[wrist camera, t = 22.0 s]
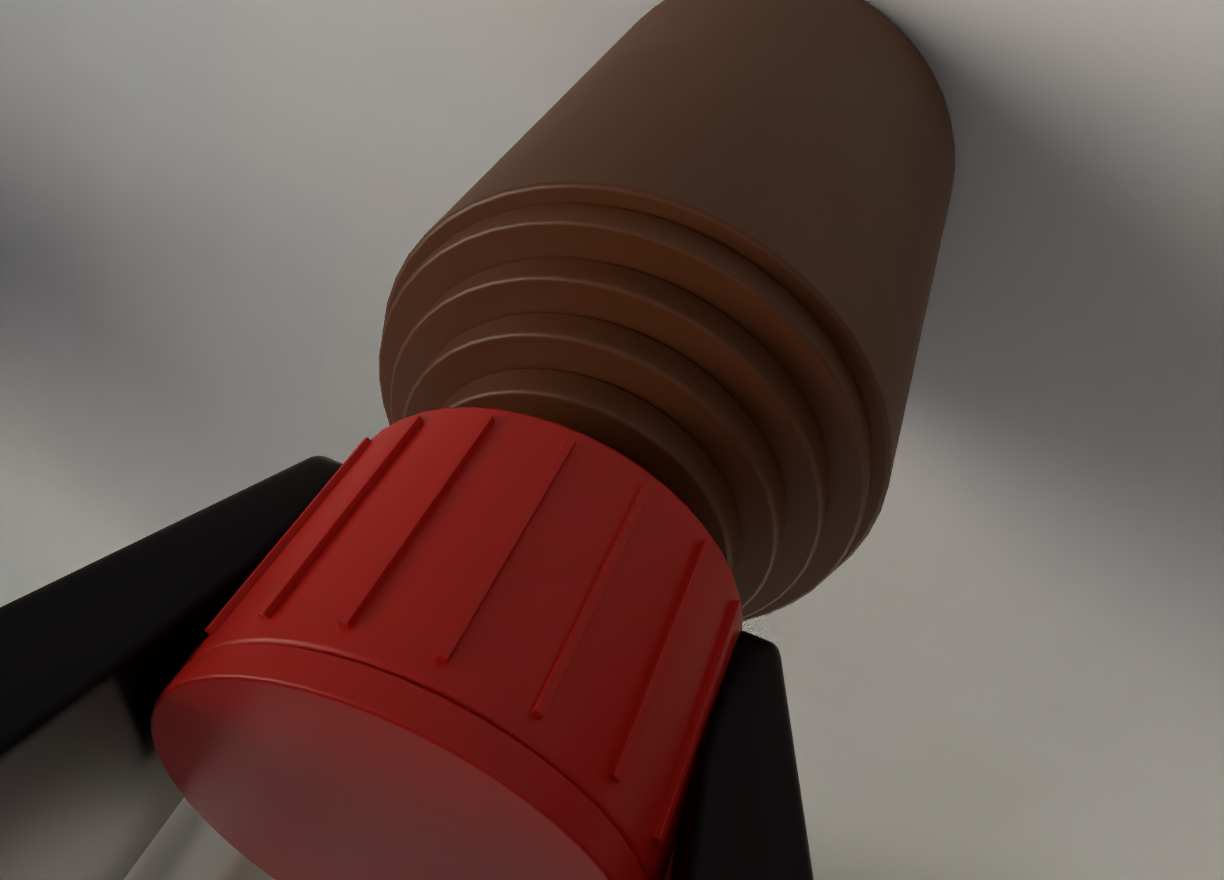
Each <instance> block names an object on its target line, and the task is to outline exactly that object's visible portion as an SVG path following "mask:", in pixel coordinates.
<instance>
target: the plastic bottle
mask: <svg viewBox="0 0 1224 880" xmlns="http://www.w3.org/2000/svg"><path fill="white" fill-rule="evenodd" d="M124 880H275V879H274V878H272V877H271V876H269V875H268V874H266V873H265V872H264V871H263V870H261V869H260V868H259V867H257V866H256V865H255V864H254V863H252V862H251V861H250V860H248V859H247V858H246V857H245V856H243V855H242V854H241V853H240V852H239V851H238V850H236V849H235V848H234V847H233V846H232V845H231V844H229V843H228V842H227V841H226V840H225V839H224V838H223V837H222V836H221V835H220V834H219V833H218V832H216V831H215V830H214V829H213V828H212V827H211V826H210V825H209V824H208V823H207V822H206V821H205V820H204V819H203V818H202V816H201V815H200V814H199V813H198V812H197V811H196V810H195V809H194V808H193V807H192V806H191V804H190V803H189V802H188V801H187V799H186V798H185V797H184V798H183V800H182V801H181V802H180V804H179V805H178V806H177V808H176V809H175V810H174V812H173V813H172V815H171V816H170V817H169V819H168V820H167V821H166V823H165V824H164V825H163V827H162V828H161V829H160V831H159V832H158V834H157V835H156V836H155V838H154V839H153V840H152V842H151V843H150V844H149V846H148V847H147V848H146V850H145V851H144V853H143V854H142V855H141V857H140V858H139V859H138V861H137V862H136V863H135V865H134V866H133V867H132V869H131V870H130V872H129V873H128V874H127V876H126V877H125V878H124Z"/></svg>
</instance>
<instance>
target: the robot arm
mask: <svg viewBox="0 0 1224 880" xmlns="http://www.w3.org/2000/svg"><path fill="white" fill-rule="evenodd" d="M342 465H343V464H342V463H339V462H337V461H335V460H332V459H330V458H327V457H324V456H314V457H311V458H308V459H306V460H304V461H302V462H300V463H298V464H296V465H294V466H292V467H290V468H287V469H285V470H283V471H281V472H279V473H277V474H275V475H273V476H271V477H269V478H267V479H265V480H263V481H261V482H259V483H257V484H254V485H252V486H250V487H248V488H246V489H244V490H242V491H240V492H238V493H236V494H234V495H232V496H230V497H228V498H226V499H223V500H221V501H219V502H217V503H215V504H213V505H211V506H209V507H207V508H205V509H203V510H201V511H199V512H197V513H195V514H192V515H190V516H188V517H186V518H184V519H182V520H180V521H178V522H176V523H174V524H172V525H170V526H168V527H166V528H164V529H162V530H159V531H157V532H155V533H153V534H151V535H149V536H147V537H145V538H143V539H141V540H139V541H137V542H135V543H133V544H131V545H128V546H126V547H124V548H122V549H120V550H118V551H116V552H114V553H112V554H110V555H108V556H106V557H104V558H102V559H100V560H97V561H95V562H93V563H91V564H89V565H87V566H85V567H83V568H81V569H79V570H77V571H75V572H73V573H71V574H69V575H67V576H64V577H62V578H60V579H58V580H56V581H54V582H52V583H50V584H48V585H46V586H44V587H42V588H40V589H38V590H36V591H33V592H31V593H29V594H27V595H25V596H23V597H21V598H19V599H17V600H15V601H13V602H11V603H9V604H7V605H5V606H2V607H0V880H124V878H125V877H126V876H127V874H128V873H129V872H130V870H131V869H132V867H133V866H134V865H135V863H136V862H137V861H138V859H139V858H140V857H141V855H142V854H143V853H144V851H145V850H146V848H147V847H148V846H149V844H150V843H151V842H152V840H153V839H154V838H155V836H156V835H157V834H158V832H159V831H160V829H161V828H162V827H163V825H164V824H165V823H166V821H167V820H168V819H169V817H170V816H171V815H172V813H173V812H174V810H175V809H176V808H177V806H178V805H179V804H180V802H181V801H182V800H183V798H184V796H183V794H182V793H181V792H180V791H179V789H178V788H177V787H176V785H175V784H174V782H173V781H172V779H171V778H170V776H169V775H168V773H167V771H166V770H165V768H164V767H163V764H162V762H161V760H160V758H159V756H158V754H157V752H156V749H155V746H154V742H153V738H152V735H151V716H152V712H153V708H154V705H155V702H156V701H157V699H158V698H159V696H160V695H161V693H162V692H163V691H164V689H165V688H166V687H167V686H168V684H169V683H170V682H171V681H172V680H173V678H174V677H175V676H176V675H177V674H178V672H179V671H180V670H181V669H182V667H183V666H184V665H185V661H186V660H187V658H188V657H189V656H190V655H191V654H192V652H193V651H194V650H195V649H196V648H197V647H198V646H199V645H200V644H201V643H202V642H203V641H204V640H206V638H207V637H208V636H209V634H208V633H207V632H205V629H206V628H207V626H208V625H209V624H210V623H211V622H212V620H213V619H214V618H215V617H216V616H217V614H218V613H219V612H220V611H221V610H222V608H223V607H224V606H225V605H226V604H227V602H228V601H229V600H230V599H231V598H232V596H233V595H234V594H235V593H236V592H237V590H238V589H239V588H240V587H241V586H242V584H243V583H244V582H245V581H246V580H247V578H248V577H249V576H250V575H251V574H252V572H253V571H254V570H255V569H256V568H257V566H258V565H259V564H260V563H261V562H262V560H263V559H264V558H265V557H266V556H267V554H268V553H269V552H270V551H271V550H272V548H273V547H274V546H275V545H276V544H277V543H278V541H279V540H280V539H281V538H282V537H283V535H284V534H285V533H286V532H287V531H288V529H289V528H290V527H291V526H292V525H293V523H294V522H295V521H296V520H297V519H298V517H299V516H300V515H301V514H302V513H303V511H304V510H305V509H306V508H307V507H308V505H309V504H310V503H311V502H312V501H313V499H314V498H315V497H316V496H317V495H318V493H319V492H320V491H321V490H322V489H323V487H324V486H325V485H326V484H327V483H328V481H329V480H330V479H331V478H332V477H333V475H334V474H335V473H336V472H337V471H338V469H339V468H340V467H341V466H342ZM669 880H814V879H813V872H812V866H811V859H810V852H809V845H808V839H807V832H806V825H805V818H804V811H803V805H802V798H801V791H800V784H799V778H798V771H797V764H796V757H795V751H794V744H793V737H792V730H791V723H790V717H789V710H788V703H787V696H786V690H785V683H784V676H783V669H782V663H781V656H780V653H779V650H778V648H777V646H776V645H775V644H773V643H772V642H769V641H767V640H764V639H762V638H760V637H757V636H755V635H752V634H750V633H748V632H745V631H741V632H740V634H739V636H738V638H737V641H736V644H735V647H734V649H733V652H732V655H731V658H730V660H729V663H728V666H727V669H726V671H725V674H724V677H723V680H722V682H721V685H720V688H719V691H718V694H717V696H716V699H715V702H714V705H713V708H712V711H711V714H710V717H709V720H708V724H707V727H706V730H705V733H704V736H703V739H702V743H701V746H700V750H699V753H698V757H697V761H696V764H695V768H694V772H693V776H692V780H691V784H690V788H689V792H688V796H687V800H686V804H685V808H684V812H683V816H682V821H681V825H680V829H679V833H678V837H677V840H676V843H675V849H674V855H673V861H672V867H671V873H670V879H669Z"/></svg>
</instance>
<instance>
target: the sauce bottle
mask: <svg viewBox="0 0 1224 880" xmlns="http://www.w3.org/2000/svg"><path fill="white" fill-rule="evenodd" d="M953 177H954V139H953V133H952V126H951V120H950V116H949V113H948V110H947V106H946V103H945V100H944V96H943V94H942V92H941V90H940V88H939V85H938V83H937V81H936V79H935V77H934V75H933V73H932V71H931V69H930V68H929V66H928V65H927V63H926V62H925V60H924V59H923V57H922V56H921V54H920V52H919V51H918V49H917V48H916V47H915V46H914V45H913V44H912V43H911V41H910V40H909V39H908V38H907V37H906V36H905V35H904V33H903V32H902V31H901V30H900V29H899V28H898V27H897V26H896V25H894V24H893V23H892V22H891V21H890V20H889V19H887V18H886V17H885V16H884V15H883V14H882V13H880V12H879V11H878V10H876V9H875V8H873V7H872V6H870V5H869V4H867V3H865V2H864V1H862V0H665V1H663V2H662V3H660V4H659V5H657V6H655V7H654V8H653V9H652V10H651V11H649V12H648V13H647V14H646V15H645V16H644V17H643V18H641V19H640V20H639V21H638V22H637V23H636V24H635V25H634V26H633V27H632V28H631V29H630V30H629V31H628V32H627V33H626V34H625V35H624V36H623V37H622V38H621V39H620V40H619V41H618V42H617V43H616V44H615V45H614V46H613V47H612V48H611V49H610V50H609V51H608V52H607V53H606V54H605V55H604V56H603V57H602V58H601V59H600V60H599V61H598V62H597V63H596V64H595V65H594V66H593V67H592V68H591V69H590V70H589V71H588V72H587V73H586V74H585V75H584V76H583V77H582V78H581V79H580V80H579V81H578V82H577V83H576V84H575V85H574V86H573V87H572V88H571V89H570V90H569V91H568V92H567V93H566V94H565V95H564V96H563V97H562V98H561V99H560V100H559V101H558V102H557V103H556V104H555V105H554V106H553V107H552V108H551V109H550V110H549V111H548V112H547V113H546V114H545V115H544V116H543V117H542V118H541V119H540V120H539V121H538V122H537V123H536V124H535V125H534V126H533V127H532V128H531V129H530V130H529V131H528V132H527V133H526V134H525V135H524V136H523V137H522V138H521V139H520V140H519V141H518V142H517V143H516V144H515V145H514V146H513V147H512V148H511V149H510V150H509V151H508V152H507V153H506V154H505V155H504V156H503V157H502V158H501V159H500V160H499V161H498V162H497V163H496V164H495V165H494V166H493V167H492V168H491V169H490V170H489V171H488V172H487V173H486V174H485V175H484V176H483V177H482V178H481V179H480V180H479V181H478V182H477V183H476V184H475V185H474V186H473V187H472V188H471V189H470V190H469V191H468V192H467V193H466V194H465V195H464V196H463V197H462V198H461V199H460V200H459V201H458V202H457V203H456V204H455V205H454V206H453V207H452V208H451V209H450V210H449V211H448V212H447V213H446V214H445V215H444V216H443V217H442V218H441V219H440V220H439V221H438V222H437V223H436V224H435V225H434V226H433V227H432V228H431V229H430V230H429V231H428V232H427V233H426V234H425V235H424V237H423V238H422V239H421V240H420V241H419V243H418V244H417V245H416V246H415V248H414V249H413V250H412V251H411V252H410V254H409V255H408V257H407V258H406V260H405V262H404V264H403V266H402V267H401V269H400V271H399V273H398V275H397V276H396V279H395V282H394V285H393V287H392V290H391V293H390V296H389V299H388V302H387V308H386V315H385V321H384V328H383V335H382V341H381V348H380V354H379V374H380V385H381V392H382V398H383V404H384V408H385V411H386V414H387V418H388V421H389V424H390V425H392V424H394V423H396V422H397V421H399V420H402V419H404V418H407V417H410V416H413V415H416V414H419V413H422V412H425V411H431V410H436V409H442V408H450V407H483V408H495V409H503V410H508V411H513V412H518V413H523V414H529V415H532V416H535V417H539V418H542V419H545V420H548V421H552V422H555V423H558V424H561V425H563V426H566V427H568V428H571V429H573V430H575V431H578V432H580V433H583V434H585V435H588V436H589V437H591V438H593V439H595V440H597V441H599V442H601V443H603V444H605V445H607V446H609V447H611V448H612V449H614V450H616V451H618V452H619V453H621V454H622V455H624V456H626V457H627V458H629V459H630V460H632V461H633V462H635V463H636V464H638V465H639V466H641V467H643V468H644V469H645V470H646V471H648V472H649V473H650V474H652V475H653V476H654V477H655V478H657V479H658V480H659V481H660V482H662V483H663V484H664V485H666V486H667V487H668V488H669V489H670V490H671V491H672V492H673V493H674V494H675V495H676V496H677V497H678V498H679V499H680V500H681V501H683V502H684V503H685V504H686V505H687V506H688V507H689V508H690V509H691V511H692V512H693V513H694V514H695V515H696V517H697V518H698V519H699V520H700V521H701V523H702V524H703V525H704V526H705V527H706V528H707V530H708V531H709V533H710V534H711V536H712V537H713V539H714V540H715V542H716V543H717V545H718V546H719V548H720V549H721V551H722V553H723V555H724V557H725V559H726V561H727V563H728V565H729V567H730V569H731V571H732V573H733V576H734V580H735V583H736V586H737V589H738V592H739V596H740V603H741V610H742V617H743V621H745V620H748V619H752V618H755V617H759V616H762V615H766V614H769V613H771V612H773V611H776V610H778V609H780V608H783V607H785V606H787V605H789V604H791V603H793V602H795V601H796V600H798V599H799V598H801V597H803V596H804V595H806V594H807V593H809V592H810V591H812V590H813V589H814V588H815V587H816V586H818V585H819V584H820V583H821V582H822V581H823V580H824V579H825V578H827V577H828V576H829V575H830V574H831V573H832V572H833V571H835V570H836V569H837V568H838V567H839V566H840V565H841V564H842V563H844V562H845V561H846V560H847V559H848V558H849V557H850V556H851V555H852V554H853V553H854V552H855V550H856V549H857V548H858V547H859V545H860V544H861V543H862V542H863V540H864V539H865V538H866V537H867V535H868V534H869V532H870V530H871V528H872V526H873V525H874V523H875V521H876V519H877V517H878V515H879V513H880V511H881V508H882V505H883V502H884V499H885V496H886V493H887V489H888V486H889V482H890V477H891V472H892V468H893V463H894V458H895V454H896V449H897V444H898V440H899V435H900V430H901V426H902V421H903V416H904V412H905V407H906V402H907V398H908V393H909V388H910V384H911V379H912V374H913V370H914V365H915V360H916V355H917V351H918V346H919V341H920V337H921V332H922V327H923V323H924V318H925V313H926V309H927V304H928V299H929V295H930V290H931V285H932V281H933V276H934V271H935V267H936V262H937V257H938V253H939V248H940V243H941V239H942V234H943V229H944V225H945V220H946V215H947V211H948V206H949V201H950V196H951V191H952V184H953Z"/></svg>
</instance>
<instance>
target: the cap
mask: <svg viewBox="0 0 1224 880" xmlns="http://www.w3.org/2000/svg"><path fill="white" fill-rule="evenodd" d="M742 622H743V617H742V610H741V603H740V596H739V592H738V589H737V586H736V583H735V580H734V576H733V573H732V571H731V569H730V567H729V565H728V563H727V561H726V559H725V557H724V555H723V553H722V551H721V549H720V548H719V546H718V545H717V543H716V542H715V540H714V539H713V537H712V536H711V534H710V533H709V531H708V530H707V528H706V527H705V526H704V525H703V524H702V523H701V521H700V520H699V519H698V518H697V517H696V515H695V514H694V513H693V512H692V511H691V509H690V508H689V507H688V506H687V505H686V504H685V503H684V502H683V501H681V500H680V499H679V498H678V497H677V496H676V495H675V494H674V493H673V492H672V491H671V490H670V489H669V488H668V487H667V486H666V485H664V484H663V483H662V482H660V481H659V480H658V479H657V478H655V477H654V476H653V475H652V474H650V473H649V472H648V471H646V470H645V469H644V468H643V467H641V466H639V465H638V464H636V463H635V462H633V461H632V460H630V459H629V458H627V457H626V456H624V455H622V454H621V453H619V452H618V451H616V450H614V449H612V448H611V447H609V446H607V445H605V444H603V443H601V442H599V441H597V440H595V439H593V438H591V437H589V436H588V435H585V434H583V433H580V432H578V431H575V430H573V429H571V428H568V427H566V426H563V425H561V424H558V423H555V422H552V421H548V420H545V419H542V418H539V417H535V416H532V415H529V414H523V413H518V412H513V411H508V410H503V409H495V408H483V407H450V408H442V409H436V410H431V411H425V412H422V413H419V414H416V415H413V416H410V417H407V418H404V419H402V420H399V421H397V422H396V423H394V424H392V425H390V426H389V427H387V428H385V429H383V430H382V431H381V432H380V433H378V434H377V435H376V436H375V437H374V438H373V439H371V440H370V439H369V438H367V437H366V438H365V439H364V440H363V441H362V442H361V443H360V444H359V445H358V447H357V448H356V449H355V450H354V451H353V453H352V454H351V455H350V456H349V457H348V459H347V460H346V461H345V462H344V463H343V465H342V466H341V467H340V468H339V469H338V471H337V472H336V473H335V474H334V475H333V477H332V478H331V479H330V480H329V481H328V483H327V484H326V485H325V486H324V487H323V489H322V490H321V491H320V492H319V493H318V495H317V496H316V497H315V498H314V499H313V501H312V502H311V503H310V504H309V505H308V507H307V508H306V509H305V510H304V511H303V513H302V514H301V515H300V516H299V517H298V519H297V520H296V521H295V522H294V523H293V525H292V526H291V527H290V528H289V529H288V531H287V532H286V533H285V534H284V535H283V537H282V538H281V539H280V540H279V541H278V543H277V544H276V545H275V546H274V547H273V548H272V550H271V551H270V552H269V553H268V554H267V556H266V557H265V558H264V559H263V560H262V562H261V563H260V564H259V565H258V566H257V568H256V569H255V570H254V571H253V572H252V574H251V575H250V576H249V577H248V578H247V580H246V581H245V582H244V583H243V584H242V586H241V587H240V588H239V589H238V590H237V592H236V593H235V594H234V595H233V596H232V598H231V599H230V600H229V601H228V602H227V604H226V605H225V606H224V607H223V608H222V610H221V611H220V612H219V613H218V614H217V616H216V617H215V618H214V619H213V620H212V622H211V623H210V624H209V625H208V626H207V628H206V629H205V632H207V633H208V634H209V636H208V637H207V638H206V640H204V641H203V642H202V643H201V644H200V645H199V646H198V647H197V648H196V649H195V650H194V651H193V652H192V654H191V655H190V656H189V657H188V658H187V660H186V661H185V665H184V666H183V667H182V669H181V670H180V671H179V672H178V674H177V675H176V676H175V677H174V678H173V680H172V681H171V682H170V683H169V684H168V686H167V687H166V688H165V689H164V691H163V692H162V693H161V695H160V696H159V698H158V699H157V701H156V702H155V705H154V708H153V712H152V716H151V735H152V738H153V742H154V746H155V749H156V752H157V754H158V756H159V758H160V760H161V762H162V764H163V767H164V768H165V770H166V771H167V773H168V775H169V776H170V778H171V779H172V781H173V782H174V784H175V785H176V787H177V788H178V789H179V791H180V792H181V793H182V794H183V796H184V797H185V798H186V799H187V801H188V802H189V803H190V804H191V806H192V807H193V808H194V809H195V810H196V811H197V812H198V813H199V814H200V815H201V816H202V818H203V819H204V820H205V821H206V822H207V823H208V824H209V825H210V826H211V827H212V828H213V829H214V830H215V831H216V832H218V833H219V834H220V835H221V836H222V837H223V838H224V839H225V840H226V841H227V842H228V843H229V844H231V845H232V846H233V847H234V848H235V849H236V850H238V851H239V852H240V853H241V854H242V855H243V856H245V857H246V858H247V859H248V860H250V861H251V862H252V863H254V864H255V865H256V866H257V867H259V868H260V869H261V870H263V871H264V872H265V873H266V874H268V875H269V876H271V877H272V878H274V879H275V880H669V879H670V873H671V867H672V861H673V855H674V849H675V843H676V840H677V837H678V833H679V829H680V825H681V821H682V816H683V812H684V808H685V804H686V800H687V796H688V792H689V788H690V784H691V780H692V776H693V772H694V768H695V764H696V761H697V757H698V753H699V750H700V746H701V743H702V739H703V736H704V733H705V730H706V727H707V724H708V720H709V717H710V714H711V711H712V708H713V705H714V702H715V699H716V696H717V694H718V691H719V688H720V685H721V682H722V680H723V677H724V674H725V671H726V669H727V666H728V663H729V660H730V658H731V655H732V652H733V649H734V647H735V644H736V641H737V638H738V636H739V634H740V632H741V631H742Z"/></svg>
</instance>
